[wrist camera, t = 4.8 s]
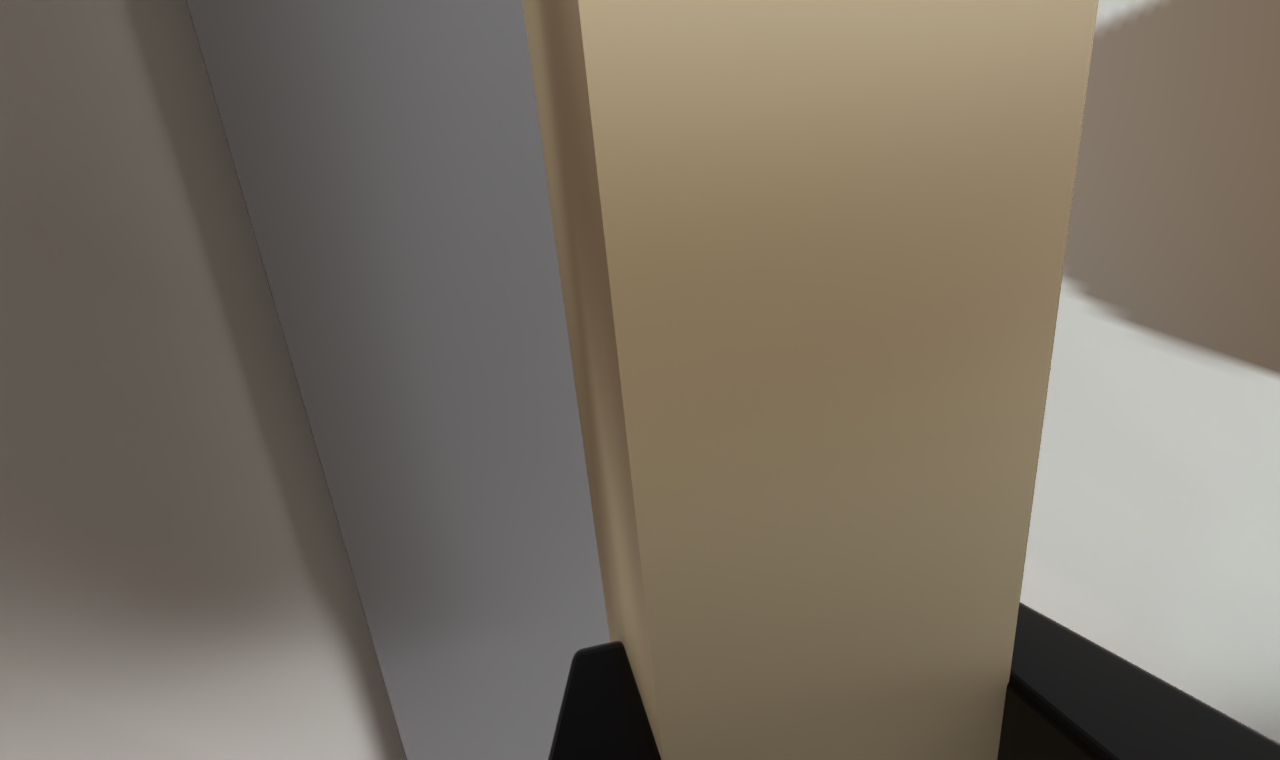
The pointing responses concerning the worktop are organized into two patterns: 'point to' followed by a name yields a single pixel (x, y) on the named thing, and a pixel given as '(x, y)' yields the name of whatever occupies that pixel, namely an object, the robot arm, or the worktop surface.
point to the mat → (424, 342)
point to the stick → (812, 349)
